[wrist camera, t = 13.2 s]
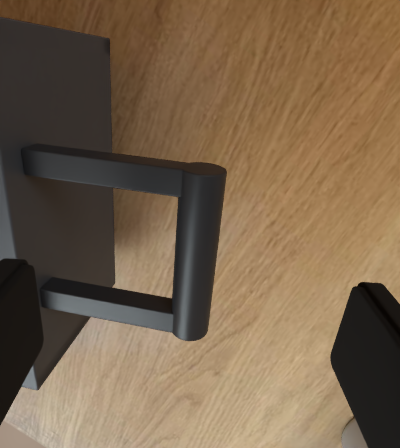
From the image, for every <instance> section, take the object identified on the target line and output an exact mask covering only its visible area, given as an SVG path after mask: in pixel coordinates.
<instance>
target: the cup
mask: <svg viewBox="0 0 400 448" xmlns="http://www.w3.org/2000/svg"><path fill="white" fill-rule="evenodd" d="M342 447H343V448H368V447H367V444H366V442H365V440H364V438H363V435H362V433H361V431H360V429H359V426H358V424H357V422H356V419H355V418H354V419H353V420H351V421H350V422H349V423H348V424H347V426H346V427H345V428H344V431H343V434H342Z"/></svg>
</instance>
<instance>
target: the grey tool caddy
mask: <svg viewBox="0 0 400 448" xmlns="http://www.w3.org/2000/svg"><path fill="white" fill-rule="evenodd" d="M226 175H227V171H226V169H225V168H223V167H221V166H219V165H215V164H211V163H202V162H193V163H186V162H178V161H170V160H163V159H155V158H147V157H139V156H132V155H124V154H116V153H112V123H111V80H110V39H109V38H105V37H100V36H95V35H90V34H85V33H80V32H75V31H70V30H64V29H59V28H54V27H49V26H44V25H39V24H34V23H29V22H24V21H19V20H14V19H8V18H3V17H0V261H1V260H2V259H4V258H10V259H25V260H27V262H28V264H29V265H32V266H33V267H34V270H35V276H36V284H37V291H38V298H39V305H40V313H41V320H42V327H43V334H44V342H43V346H42V349H41V351H40V353H39V355H38V357H37V359H36V360H35V362H34V364H33V366H32V368H31V370H30V371H29V373H28V375H27V377H26V379H25V381H24V383H23V384H22V386H21V387H25V388H29V389H33V390H39V388H40V387H41V386H42V384H43V383H44V381H45V380H46V379H47V377H48V376H49V374H50V373H51V372H52V370H53V369H54V367H55V366H56V365H57V363H58V362H59V361H60V359H61V358H62V356H63V355H64V354H65V352H66V351H67V349H68V348H69V347H70V345H71V344H72V342H73V341H74V340H75V338H76V337H77V335H78V334H79V333H80V331H81V330H82V328H83V327H84V326H85V324H86V323H87V321H88V320H89V319H90V317H94V318H100V319H105V320H110V321H115V322H120V323H125V324H130V325H136V326H141V327H146V328H151V329H156V330H161V331H167V332H172V333H173V334H174V335H175V336H176V337H177V338H179V339H182V340H185V341H196V340H199V339H201V338H203V337H204V336H205V335H206V334H207V331H208V325H209V317H210V308H211V300H212V292H213V283H214V275H215V267H216V258H217V250H218V242H219V233H220V225H221V216H222V208H223V200H224V191H225V183H226ZM113 188H119V189H126V190H133V191H140V192H147V193H154V194H161V195H168V196H175V197H178V212H177V228H176V245H175V261H174V277H173V294H172V298H166V297H161V296H155V295H150V294H144V293H139V292H133V291H128V290H122V289H117V288H112V287H113V285H114V284H115V254H114V210H113Z"/></svg>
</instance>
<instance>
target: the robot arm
mask: <svg viewBox="0 0 400 448" xmlns="http://www.w3.org/2000/svg"><path fill="white" fill-rule="evenodd" d="M43 342H44V334H43V327H42V320H41V313H40V305H39V298H38V291H37V284H36V276H35V270H34V267H33V266H32V265H29V264H28V262H27V260H25V259H10V258H4V259H2V260H1V261H0V425H1V423H2V421H3V419H4V418H5V416H6V414H7V412H8V410H9V408H10V407H11V405H12V403H13V401H14V399H15V397H16V395H17V394H18V392H19V390H20V388H21V386H22V384H23V383H24V381H25V379H26V377H27V375H28V373H29V371H30V370H31V368H32V366H33V364H34V362H35V360H36V359H37V357H38V355H39V353H40V351H41V349H42V346H43ZM331 365H332V368H333V370H334V372H335V374H336V377H337V379H338V381H339V383H340V386H341V388H342V390H343V392H344V395H345V397H346V399H347V401H348V404H349V406H350V408H351V410H352V413H353V415H354V417H355V419H356V422H357V424H358V426H359V429H360V431H361V433H362V435H363V438H364V440H365V442H366V444H367V447H368V448H400V304H399V303H398V302H397V300H396V299H395V298H394V297H393V296H392V294H391V293H390V292H389V291H388V290H387V288H386V287H385V286H384V285H383V284H381V283H369V282H361V283H359V284H358V286H357V287H356V286H355V287H353V288H352V290H351V293H350V296H349V299H348V302H347V305H346V308H345V312H344V315H343V318H342V321H341V324H340V327H339V330H338V333H337V336H336V339H335V342H334V345H333V349H332V352H331Z"/></svg>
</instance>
